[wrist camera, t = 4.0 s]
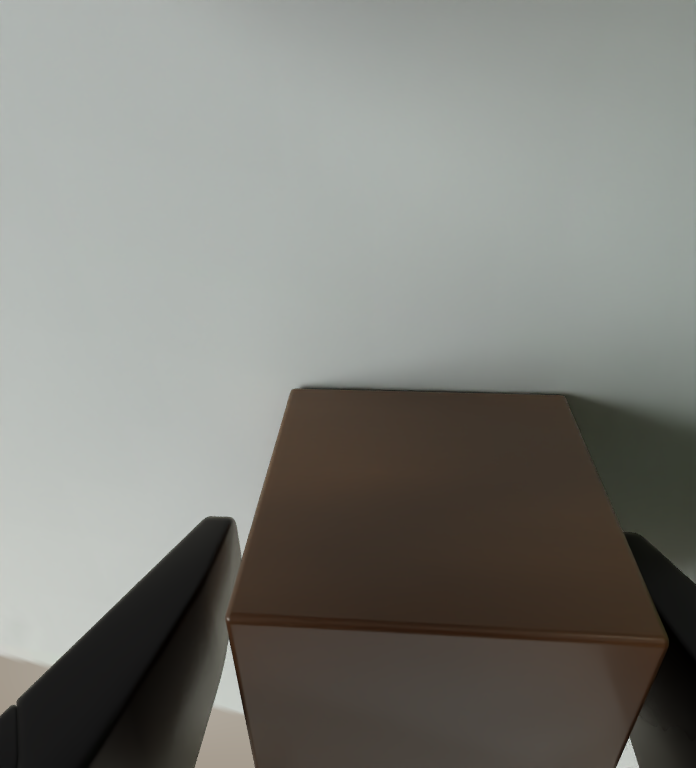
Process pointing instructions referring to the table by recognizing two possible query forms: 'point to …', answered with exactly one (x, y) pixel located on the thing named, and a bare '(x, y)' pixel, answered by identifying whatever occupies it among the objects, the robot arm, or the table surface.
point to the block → (438, 590)
